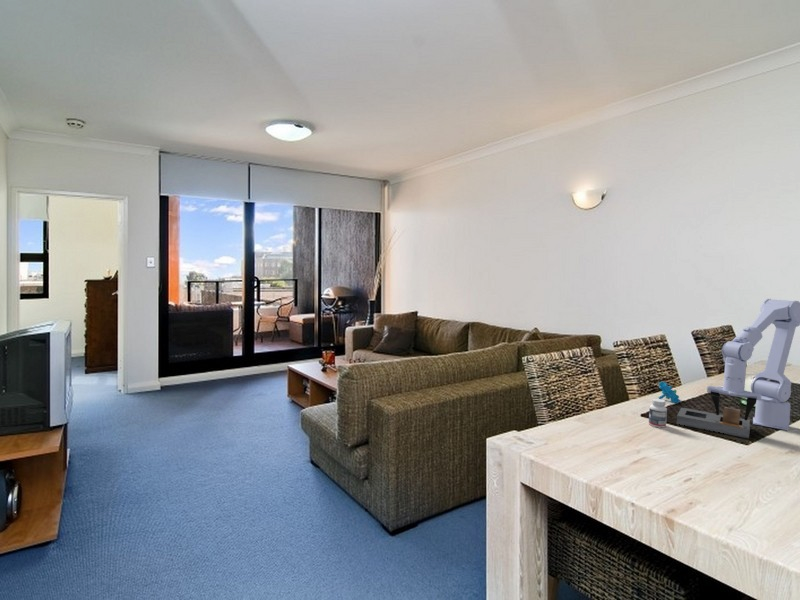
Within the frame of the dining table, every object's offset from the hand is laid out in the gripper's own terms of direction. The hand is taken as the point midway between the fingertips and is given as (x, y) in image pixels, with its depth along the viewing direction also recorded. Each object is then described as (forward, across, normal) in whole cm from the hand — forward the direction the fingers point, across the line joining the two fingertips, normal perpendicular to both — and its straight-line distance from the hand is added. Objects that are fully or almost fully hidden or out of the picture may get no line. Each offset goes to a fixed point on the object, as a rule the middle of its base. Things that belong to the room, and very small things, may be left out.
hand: (731, 416), depth 151 cm
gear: (+5, -21, +24) cm, 33 cm away
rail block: (+4, -5, 0) cm, 7 cm away
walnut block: (+4, 0, 0) cm, 5 cm away
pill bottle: (+5, -20, -12) cm, 24 cm away
